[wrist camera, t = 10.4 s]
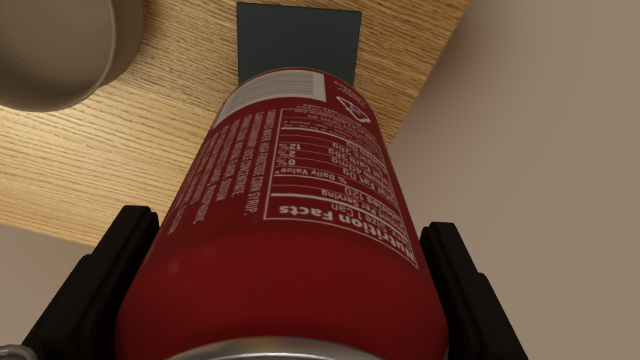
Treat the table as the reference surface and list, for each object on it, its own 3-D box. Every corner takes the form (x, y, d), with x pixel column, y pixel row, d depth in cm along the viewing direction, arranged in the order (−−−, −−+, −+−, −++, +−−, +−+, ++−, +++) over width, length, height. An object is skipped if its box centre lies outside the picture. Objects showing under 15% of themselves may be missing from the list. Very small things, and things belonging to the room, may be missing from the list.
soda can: (202, 63, 15) (-12, 330, 5) (383, 59, 15) (528, 315, 5) (227, 210, 19) (128, 543, 9) (374, 206, 19) (449, 534, 9)
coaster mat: (361, 11, 34) (361, 12, 33) (347, 124, 39) (348, 126, 38) (237, 1, 33) (236, 2, 33) (240, 118, 38) (239, 120, 38)
